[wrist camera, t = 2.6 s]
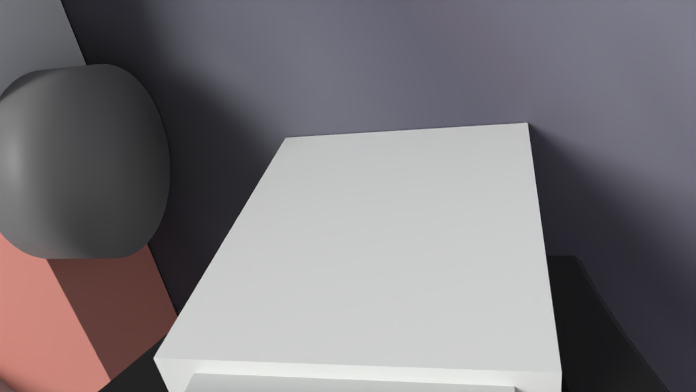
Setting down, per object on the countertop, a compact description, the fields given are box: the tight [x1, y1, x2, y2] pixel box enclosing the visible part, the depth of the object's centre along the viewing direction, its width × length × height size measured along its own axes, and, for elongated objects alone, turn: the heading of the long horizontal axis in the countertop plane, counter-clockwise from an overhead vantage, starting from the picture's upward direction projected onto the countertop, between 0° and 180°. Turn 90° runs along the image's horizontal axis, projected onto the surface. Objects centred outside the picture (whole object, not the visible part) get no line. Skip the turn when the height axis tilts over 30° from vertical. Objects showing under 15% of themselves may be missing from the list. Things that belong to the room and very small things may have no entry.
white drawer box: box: [153, 123, 562, 392], centre depth 9 cm, size 5×4×6 cm
